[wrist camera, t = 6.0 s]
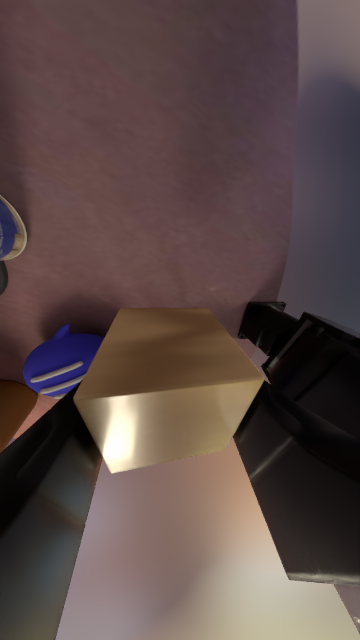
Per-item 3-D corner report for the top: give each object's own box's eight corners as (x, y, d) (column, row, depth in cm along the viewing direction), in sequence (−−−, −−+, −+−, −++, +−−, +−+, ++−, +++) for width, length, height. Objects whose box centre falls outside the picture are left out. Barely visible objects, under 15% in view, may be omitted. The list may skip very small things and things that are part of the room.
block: (207, 307, 8) (267, 377, 4) (196, 366, 11) (226, 450, 6) (119, 307, 7) (70, 399, 3) (129, 372, 10) (109, 474, 5)
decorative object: (88, 347, 12) (125, 398, 18) (107, 309, 16) (131, 360, 22) (-50, 369, 11) (40, 414, 17) (11, 323, 15) (64, 371, 22)
